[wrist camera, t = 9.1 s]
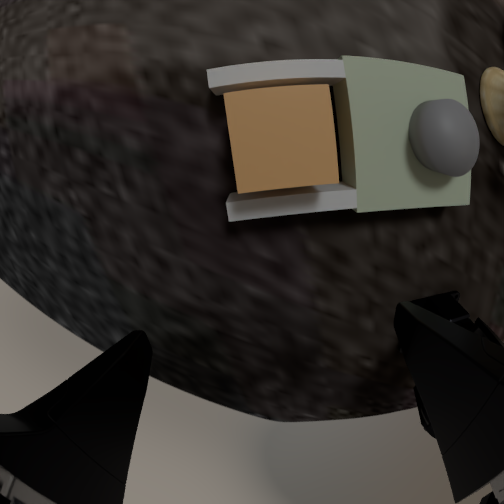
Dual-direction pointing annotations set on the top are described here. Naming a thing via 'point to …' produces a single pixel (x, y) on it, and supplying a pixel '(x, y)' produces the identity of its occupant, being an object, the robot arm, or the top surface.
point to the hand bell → (493, 101)
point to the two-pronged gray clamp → (372, 135)
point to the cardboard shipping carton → (282, 137)
